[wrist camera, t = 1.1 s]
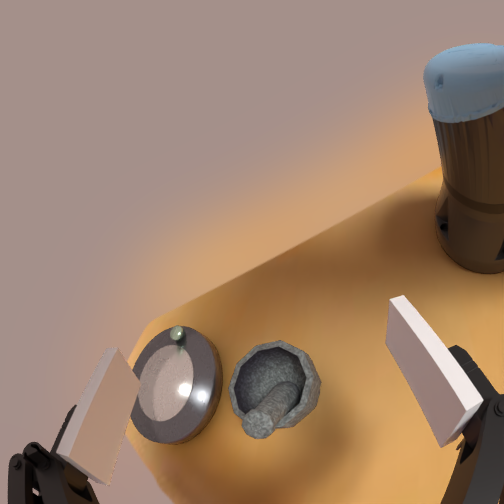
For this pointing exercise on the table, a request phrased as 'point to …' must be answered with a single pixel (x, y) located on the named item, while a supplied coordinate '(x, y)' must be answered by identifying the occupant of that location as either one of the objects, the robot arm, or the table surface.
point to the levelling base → (176, 386)
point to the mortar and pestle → (273, 388)
